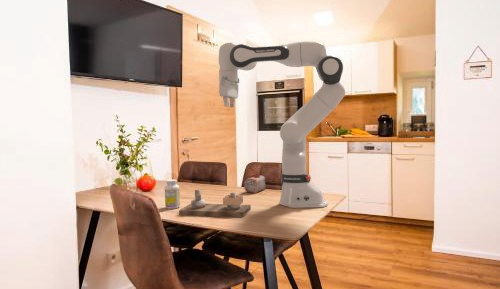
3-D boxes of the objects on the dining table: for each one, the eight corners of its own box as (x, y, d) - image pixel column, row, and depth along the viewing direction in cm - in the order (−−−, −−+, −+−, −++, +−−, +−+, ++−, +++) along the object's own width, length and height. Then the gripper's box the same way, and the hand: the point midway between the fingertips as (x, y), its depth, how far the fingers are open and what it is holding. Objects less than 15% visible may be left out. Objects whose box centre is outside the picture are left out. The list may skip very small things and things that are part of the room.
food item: (256, 194, 195) (256, 176, 195) (243, 193, 199) (243, 175, 198) (266, 189, 207) (266, 172, 207) (254, 189, 211) (254, 172, 210)
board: (250, 209, 160) (250, 188, 159) (243, 217, 146) (242, 194, 145) (191, 207, 166) (191, 187, 165) (179, 215, 152) (178, 192, 152)
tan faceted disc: (243, 201, 156) (243, 195, 156) (239, 205, 150) (238, 198, 150) (227, 201, 158) (227, 194, 158) (223, 205, 151) (222, 198, 151)
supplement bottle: (173, 205, 172) (172, 178, 171) (182, 207, 167) (182, 179, 167) (162, 208, 166) (161, 180, 166) (171, 209, 162) (170, 181, 161)
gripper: (228, 74, 161) (229, 105, 162) (240, 80, 181) (240, 107, 181) (215, 75, 162) (216, 106, 163) (228, 80, 182) (228, 108, 183)
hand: (229, 107), depth 172 cm, fingers open, 8 cm apart
